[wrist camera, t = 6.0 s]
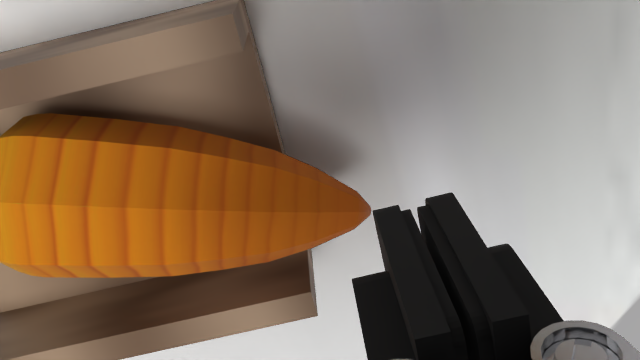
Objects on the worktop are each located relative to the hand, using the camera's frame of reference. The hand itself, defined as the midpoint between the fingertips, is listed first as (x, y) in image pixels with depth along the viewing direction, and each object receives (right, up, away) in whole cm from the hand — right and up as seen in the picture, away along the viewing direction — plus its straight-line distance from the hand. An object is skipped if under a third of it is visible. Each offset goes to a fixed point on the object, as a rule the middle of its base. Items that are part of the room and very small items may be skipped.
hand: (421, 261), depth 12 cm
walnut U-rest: (-9, +2, +9) cm, 13 cm away
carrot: (0, +1, +6) cm, 6 cm away
